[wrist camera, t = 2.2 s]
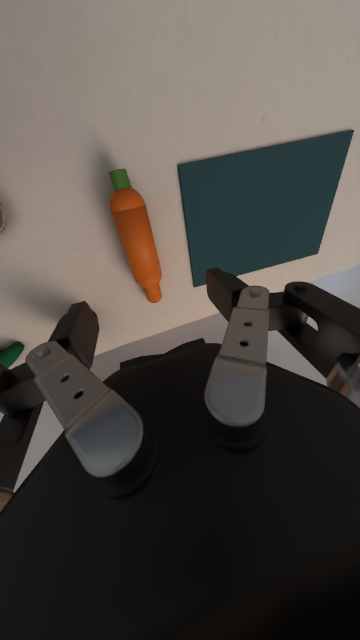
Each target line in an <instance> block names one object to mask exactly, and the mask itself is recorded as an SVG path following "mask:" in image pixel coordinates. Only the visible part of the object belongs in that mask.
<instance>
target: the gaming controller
mask: <svg viewBox="0 0 360 640" xmlns="http://www.w3.org/2000/svg"><path fill="white" fill-rule="evenodd" d="M23 349H24V345H22V344H20V343H15V344H13V345H11V346H10V347H8V348H7V349H5V350H4V351H1V352H0V364H3V365H4V366H6V367H7V368H9V367H10V366H11V365H12V364H13V363H14V362H15V361H16V359H17V358H18V357H19V355H20V354H21V352H22V351H23Z"/></svg>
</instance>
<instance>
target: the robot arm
mask: <svg viewBox="0 0 360 640" xmlns="http://www.w3.org/2000/svg"><path fill="white" fill-rule="evenodd" d="M206 284H207V294H208V297H209V299H210V300H211V302H212V303H213V304H214V305H215V306H216V308H217V309H218V310H219V311H220V313H221V314H222V315H223V316H224V318H225V319H226V320H227V321H228V322H229V324H228V327H227V330H226V333H225V336H224V339H223V343H222V344H217V343H205V341H204V339H203V338H201V339H197V340H194V341H191V342H187V343H184V344H182V345H180V346H178V347H176V348H174V349H172V350H170V351H168V352H166V353H164V354H158V355H148V356H141V357H137V358H134V359H130V360H127V361H124V362H120V370H118V371H116V372H115V373H113V374H112V375H111V376H109V377H108V378H107V379H106V380H104V381H103V382H102V381H101V380H100V379H99V378H98V377H97V376H95V375H94V374H93V373H92V372H91V371H90V370H89V369H88V368H90V367H92V362H93V358H94V353H95V348H96V343H97V338H98V333H99V324H98V321H97V320H96V318H95V316H94V314H93V312H92V311H91V309H90V307H89V305H88V304H87V303H86V302H85V301H83V302H79V303H75V304H72V305H71V307H70V309H69V311H68V313H67V314H65V315H64V316H63V317H62V318H61V319H60V320H59V322H58V324H57V326H56V328H55V330H54V331H53V333H52V335H51V337H50V339H49V340H48V342H45V343H43V344H40V345H39V346H37V347H35V348H34V349H33V350H31V351H30V352H29V353H28V355H27V356H26V358H25V361H26V362H25V363H23V364H21V365H19V366H17V367H15V368H13V369H10V370H9V369H8V368H7V367H6V366H4V365H3V364H0V412H2V413H3V414H4V416H3V418H2V420H1V422H0V640H360V309H359V308H357V307H355V306H353V305H351V304H349V303H348V302H346V301H343V300H342V299H340V298H338V297H336V296H334V295H332V294H330V293H328V292H326V291H324V290H323V289H320V288H318V287H317V286H315V285H313V284H310V283H307V282H291V283H288V284H286V286H285V289H284V292H278V293H269V290H268V289H267V288H265V287H262V286H248V285H247V284H246V283H244V282H243V281H241V280H240V279H239V278H237V277H236V276H235V275H233V274H231V273H227V272H225V273H224V272H223V271H222V270H220V269H219V268H218V267H216V268H212V269H208V270H206ZM308 316H309V317H311V318H312V319H313V320H315V321H316V323H317V325H318V331H316V330H315V329H314V328H313V327H311V326H310V325H309V324H307V323H306V322H307V319H308ZM272 330H277V331H278V332H279V333H280V334H281V335H282V336H284V338H285V339H286V340H287V341H288V342H289V343H291V345H292V346H293V347H294V348H296V350H297V351H298V352H299V353H301V354H302V355H303V356H304V357H305V358H306V359H307V360H308V361H309V362H310V363H311V364H312V365H313V366H314V367H315V368H316V369H317V370H318V371H319V372H320V373H321V374H322V375H323V376H324V377H325V378H326V379H327V380H326V382H327V386H328V387H327V386H325V385H323V384H320V383H318V382H315V381H313V380H310V379H308V378H305V377H303V376H300V375H298V374H296V373H293V372H290V371H288V370H286V369H283V368H281V367H279V366H276V365H274V364H271V363H268V362H266V357H267V341H268V331H272ZM44 401H47V402H48V404H49V406H50V407H51V409H52V410H53V412H54V414H55V415H56V417H57V418H58V420H59V422H60V423H61V425H62V426H63V428H64V431H63V432H62V434H61V435H60V436H59V437H58V439H57V440H56V441H55V442H54V444H53V445H52V446H51V447H50V449H49V450H48V451H47V452H46V454H45V455H44V456H43V458H42V459H41V460H40V461H39V463H38V464H37V465H36V466H35V468H34V469H33V470H32V471H31V473H30V474H29V475H28V477H27V478H26V479H25V480H24V482H23V483H22V484H21V485H20V487H19V488H18V489H17V490H16V492H15V493H14V492H13V490H14V487H15V484H16V481H17V478H18V475H19V473H20V470H21V467H22V464H23V461H24V458H25V455H26V452H27V449H28V446H29V443H30V441H31V438H32V435H33V432H34V428H35V426H36V423H37V420H38V417H39V414H40V412H41V408H42V405H43V402H44Z"/></svg>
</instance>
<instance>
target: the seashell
mask: <svg viewBox="0 0 360 640" xmlns="http://www.w3.org/2000/svg"><path fill="white" fill-rule="evenodd" d="M5 219H6V216H5V214H4V209H3V208H2V207H1V205H0V234H2V231H4V230H5V225H6V221H5Z"/></svg>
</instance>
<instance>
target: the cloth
mask: <svg viewBox="0 0 360 640" xmlns="http://www.w3.org/2000/svg"><path fill="white" fill-rule="evenodd" d="M353 132H354V130H351V131H346V132H341V133H336V134H332V135H327V136H322V137H317V138H312V139H307V140H302V141H297V142H292V143H287V144H282V145H277V146H272V147H267V148H262V149H257V150H252V151H247V152H242V153H237V154H232V155H227V156H222V157H217V158H212V159H207V160H202V161H197V162H192V163H187V164H182V165H178V171H179V178H180V186H181V193H182V200H183V208H184V215H185V223H186V230H187V238H188V245H189V253H190V260H191V268H192V275H193V283H194V287H198V286H202V285H205V284H206V270H208V269H212V268H216V267H218V268H219V269H220V270H222V271H223V272H224V273H225V272H227V273H231V274H233V275H235V276H238V275H242V274H245V273H249V272H253V271H256V270H260V269H264V268H267V267H271V266H274V265H278V264H282V263H285V262H289V261H293V260H296V259H300V258H304V257H307V256H311V255H315V254H318V251H319V248H320V244H321V241H322V237H323V234H324V231H325V227H326V224H327V220H328V217H329V214H330V210H331V207H332V203H333V200H334V197H335V193H336V190H337V186H338V183H339V180H340V176H341V173H342V169H343V166H344V163H345V159H346V156H347V152H348V149H349V146H350V142H351V139H352V135H353Z"/></svg>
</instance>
